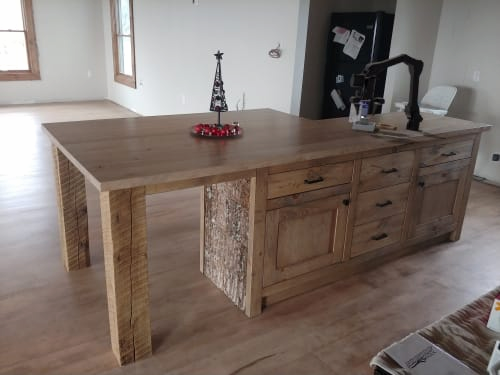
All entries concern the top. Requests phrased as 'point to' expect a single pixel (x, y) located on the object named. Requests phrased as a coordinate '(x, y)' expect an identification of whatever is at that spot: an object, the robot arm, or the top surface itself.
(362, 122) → the plug
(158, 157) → the top surface
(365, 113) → the ink cartridge box
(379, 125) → the socket block
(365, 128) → the bin
